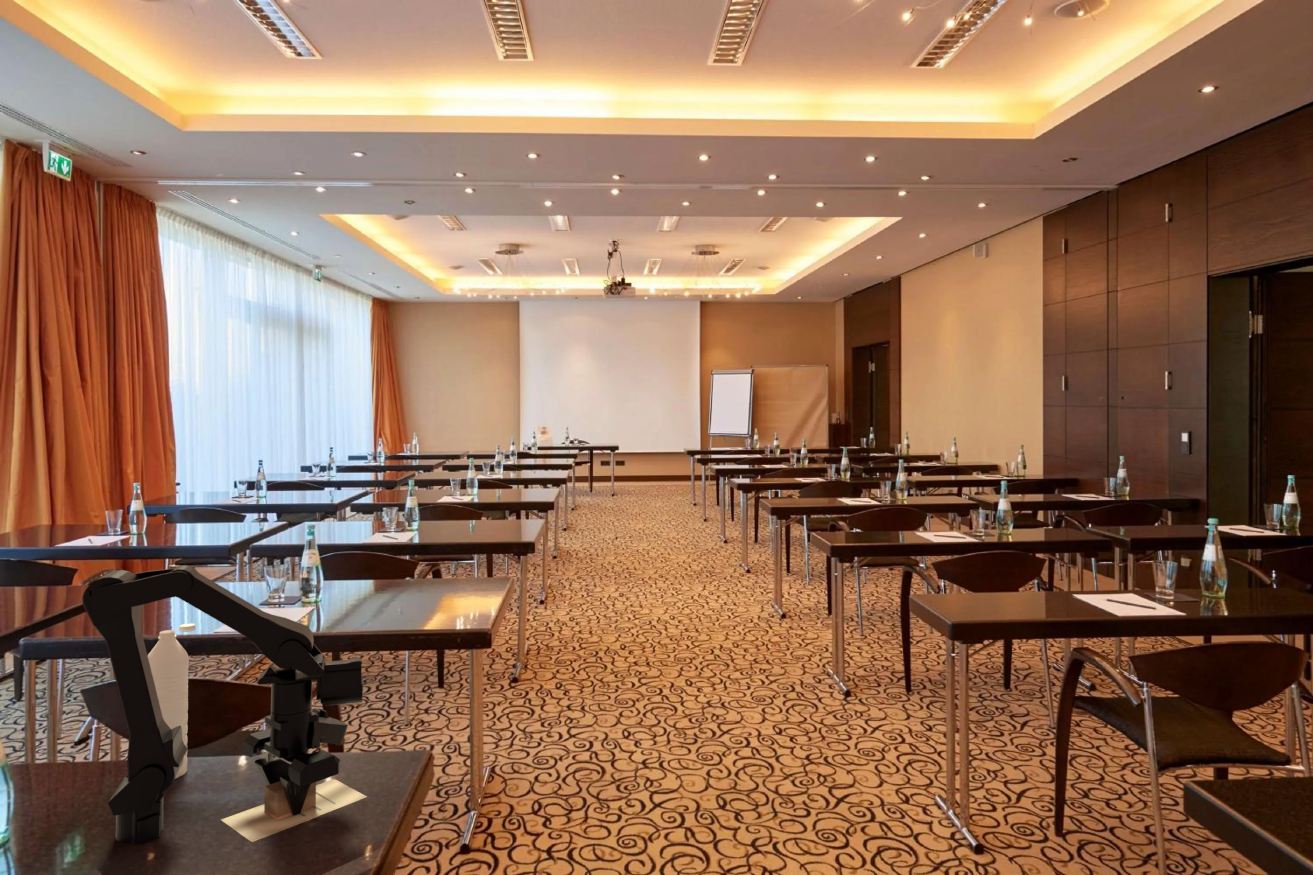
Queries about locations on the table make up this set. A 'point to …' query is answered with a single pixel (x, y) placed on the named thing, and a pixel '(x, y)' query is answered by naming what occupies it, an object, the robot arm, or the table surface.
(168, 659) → the water bottle
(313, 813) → the birch board
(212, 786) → the table surface
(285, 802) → the block
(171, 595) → the robot arm
